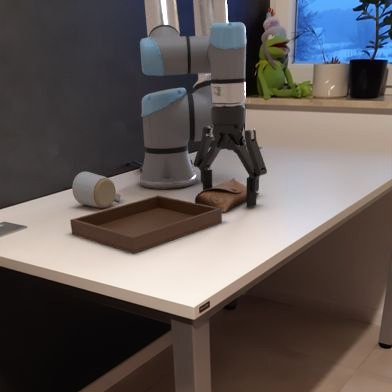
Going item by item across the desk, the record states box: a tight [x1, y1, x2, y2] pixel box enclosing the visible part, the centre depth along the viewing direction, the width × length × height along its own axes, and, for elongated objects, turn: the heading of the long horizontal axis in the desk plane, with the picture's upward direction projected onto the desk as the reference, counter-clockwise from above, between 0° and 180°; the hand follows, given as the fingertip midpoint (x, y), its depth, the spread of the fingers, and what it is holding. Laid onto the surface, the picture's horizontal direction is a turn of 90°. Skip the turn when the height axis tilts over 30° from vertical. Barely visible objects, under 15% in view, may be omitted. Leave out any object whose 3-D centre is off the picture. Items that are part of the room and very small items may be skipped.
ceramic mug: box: [71, 171, 121, 209], centre depth 129 cm, size 11×8×8 cm
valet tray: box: [69, 195, 223, 254], centre depth 112 cm, size 20×25×3 cm
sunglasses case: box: [194, 177, 260, 213], centre depth 128 cm, size 18×7×7 cm
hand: (228, 201), depth 129 cm, fingers open, 13 cm apart
